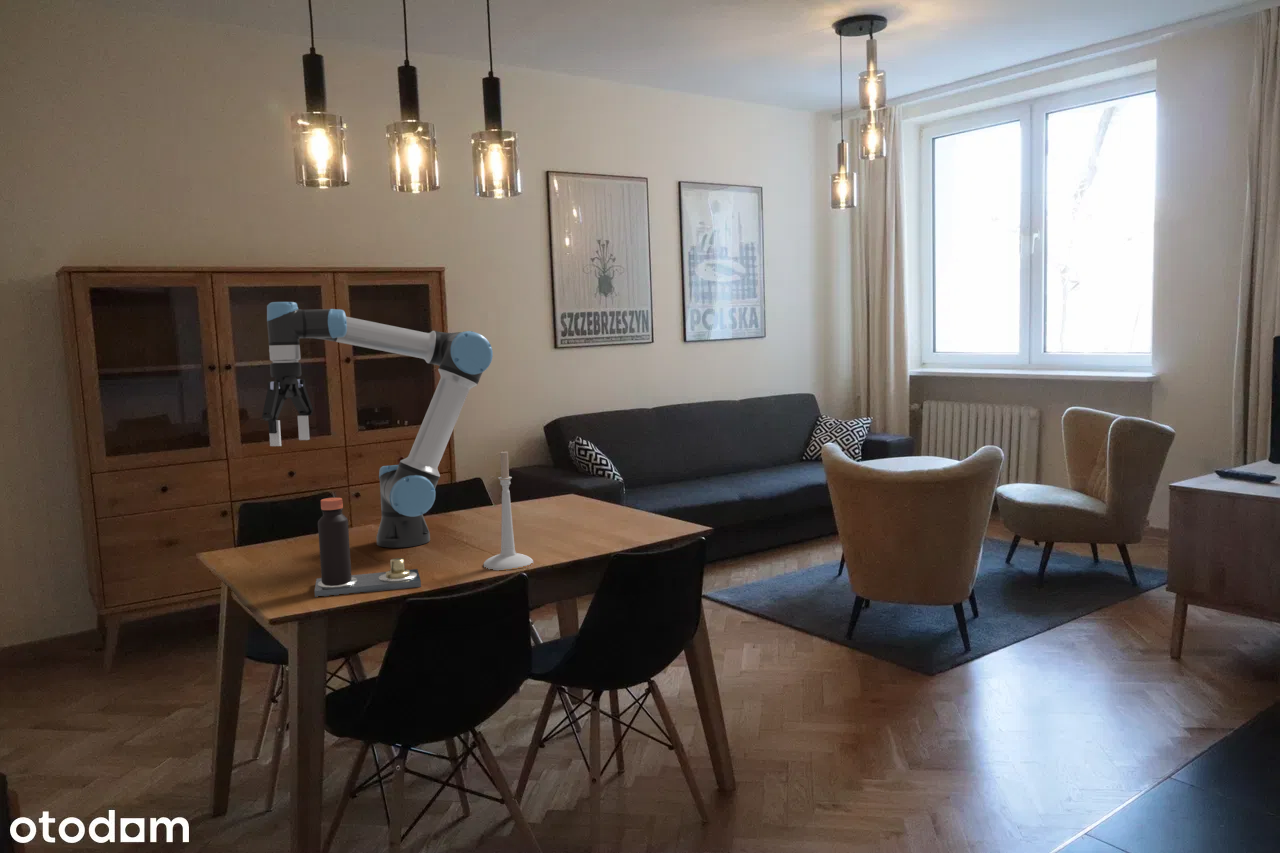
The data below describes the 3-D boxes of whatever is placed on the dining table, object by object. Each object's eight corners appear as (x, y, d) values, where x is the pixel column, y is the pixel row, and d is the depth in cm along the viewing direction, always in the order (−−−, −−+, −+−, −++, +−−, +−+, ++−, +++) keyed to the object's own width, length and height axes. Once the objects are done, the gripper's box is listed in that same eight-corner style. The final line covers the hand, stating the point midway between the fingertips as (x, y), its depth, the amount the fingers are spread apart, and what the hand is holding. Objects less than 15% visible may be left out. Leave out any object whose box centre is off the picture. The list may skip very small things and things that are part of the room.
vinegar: (326, 579, 225) (320, 497, 223) (354, 577, 225) (349, 496, 223) (318, 586, 218) (312, 502, 216) (347, 585, 218) (342, 501, 216)
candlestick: (529, 570, 235) (525, 452, 232) (479, 571, 236) (474, 453, 233) (536, 557, 248) (532, 446, 245) (488, 558, 248) (483, 447, 245)
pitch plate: (417, 574, 233) (416, 552, 233) (420, 586, 222) (419, 563, 221) (316, 584, 226) (315, 561, 226) (314, 597, 215) (313, 573, 214)
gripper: (298, 360, 254) (302, 437, 256) (243, 363, 230) (249, 448, 232) (323, 360, 253) (327, 437, 255) (271, 363, 229) (276, 448, 231)
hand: (290, 443), depth 244 cm, fingers open, 13 cm apart
